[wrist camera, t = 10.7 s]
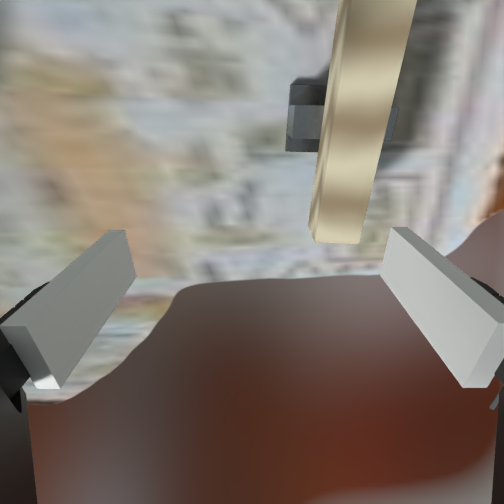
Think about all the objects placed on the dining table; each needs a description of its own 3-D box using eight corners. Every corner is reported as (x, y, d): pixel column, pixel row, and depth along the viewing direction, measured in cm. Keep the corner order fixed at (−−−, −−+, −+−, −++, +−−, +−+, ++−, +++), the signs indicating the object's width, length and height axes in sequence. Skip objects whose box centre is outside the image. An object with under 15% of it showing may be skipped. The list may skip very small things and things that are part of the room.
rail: (285, 150, 34) (290, 159, 29) (290, 85, 31) (296, 80, 25) (364, 152, 34) (385, 161, 28) (378, 87, 31) (405, 83, 25)
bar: (346, 226, 32) (358, 243, 28) (308, 225, 32) (314, 242, 28) (400, -29, 22) (431, -59, 18) (343, -31, 22) (361, -61, 18)
